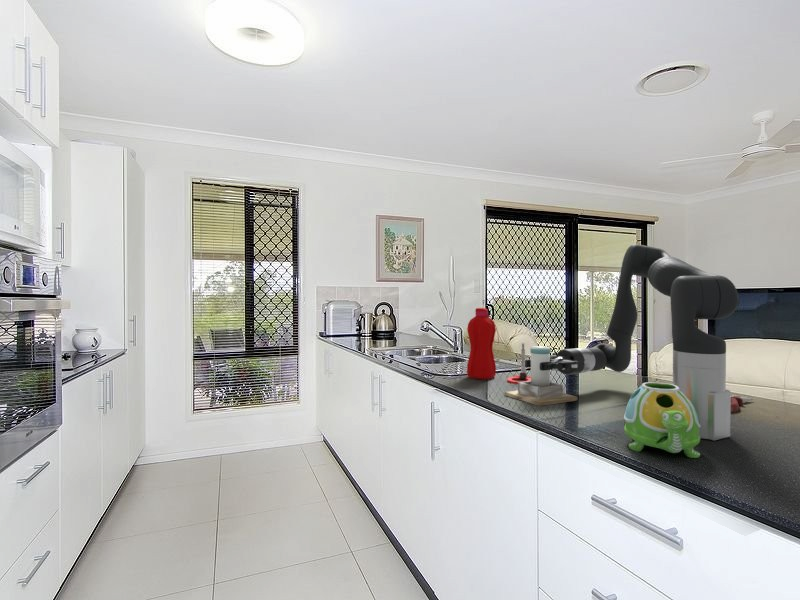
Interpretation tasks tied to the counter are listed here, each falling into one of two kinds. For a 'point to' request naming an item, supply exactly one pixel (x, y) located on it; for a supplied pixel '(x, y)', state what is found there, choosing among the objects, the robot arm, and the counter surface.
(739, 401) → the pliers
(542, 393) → the wooden square holder
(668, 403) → the turtle holder
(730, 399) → the robot arm
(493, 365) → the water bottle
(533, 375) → the cylindrical container
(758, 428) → the counter surface
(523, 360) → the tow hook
